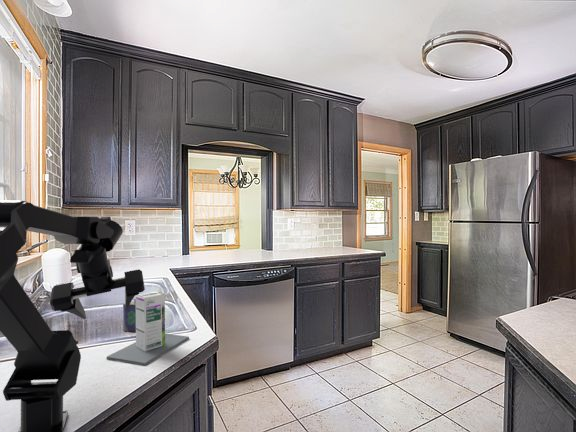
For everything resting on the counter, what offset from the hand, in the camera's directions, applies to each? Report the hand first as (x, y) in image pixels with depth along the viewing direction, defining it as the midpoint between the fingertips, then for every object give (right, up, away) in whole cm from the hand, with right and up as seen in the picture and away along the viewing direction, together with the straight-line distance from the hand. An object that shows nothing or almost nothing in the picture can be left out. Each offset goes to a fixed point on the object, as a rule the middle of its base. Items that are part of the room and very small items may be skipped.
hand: (106, 312), depth 79 cm
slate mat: (+7, -12, +9) cm, 17 cm away
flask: (-3, -13, +21) cm, 25 cm away
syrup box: (+7, -12, +8) cm, 16 cm away
